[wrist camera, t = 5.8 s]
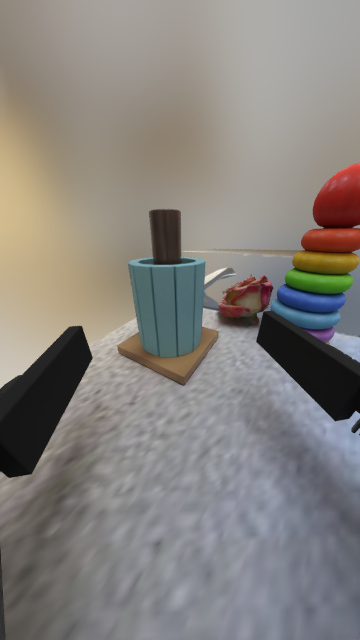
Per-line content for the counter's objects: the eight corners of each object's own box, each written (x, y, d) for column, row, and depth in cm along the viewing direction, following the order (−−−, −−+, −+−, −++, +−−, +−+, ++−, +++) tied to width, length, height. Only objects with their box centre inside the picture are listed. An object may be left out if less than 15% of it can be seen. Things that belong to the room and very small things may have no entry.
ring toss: (118, 353, 21) (83, 210, 14) (164, 322, 28) (157, 219, 21) (184, 385, 16) (183, 192, 9) (218, 338, 24) (232, 212, 16)
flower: (286, 310, 28) (268, 269, 28) (285, 320, 20) (260, 265, 21) (234, 327, 33) (220, 293, 34) (219, 340, 26) (200, 296, 26)
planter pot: (128, 344, 21) (111, 263, 16) (165, 319, 27) (160, 255, 22) (180, 367, 17) (178, 269, 12) (209, 332, 23) (216, 258, 18)
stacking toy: (262, 355, 20) (321, 151, 11) (255, 325, 27) (289, 183, 18) (339, 368, 18) (484, 128, 9) (311, 332, 25) (379, 174, 16)
